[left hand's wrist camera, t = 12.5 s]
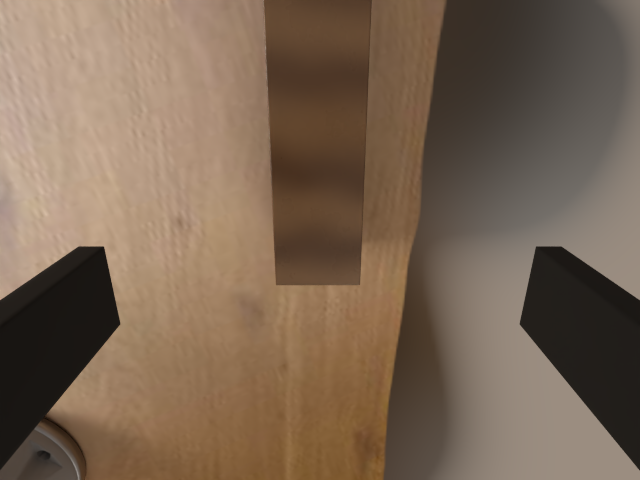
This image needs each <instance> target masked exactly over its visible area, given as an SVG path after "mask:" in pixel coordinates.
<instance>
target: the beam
mask: <svg viewBox="0 0 640 480" xmlns="http://www.w3.org/2000/svg"><path fill="white" fill-rule="evenodd" d="M263 8H264V30H265V52H266V74H267V96H268V119H269V141H270V163H271V185H272V207H273V229H274V252H275V274H276V285H360V270H361V245H362V221H363V196H364V171H365V146H366V121H367V97H368V72H369V47H370V22H371V0H263Z"/></svg>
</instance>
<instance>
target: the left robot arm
mask: <svg viewBox="0 0 640 480" xmlns="http://www.w3.org/2000/svg"><path fill="white" fill-rule="evenodd" d="M119 325H120V320H119V315H118V311H117V306H116V301H115V297H114V292H113V287H112V282H111V278H110V273H109V268H108V264H107V259H106V254H105V249H104V247H77V248H76V249H74V250H73V251H72V252H70V253H69V254H67V255H66V256H64V257H63V258H61V259H60V260H58V261H57V262H55V263H54V264H53V265H51V266H50V267H48V268H47V269H45V270H44V271H42V272H41V273H39V274H38V275H37V276H35V277H34V278H32V279H31V280H29V281H28V282H26V283H25V284H23V285H22V286H20V287H19V288H18V289H16V290H15V291H13V292H12V293H10V294H9V295H7V296H6V297H4V298H3V299H2V300H0V480H85V476H86V464H85V460H84V457H83V454H82V452H81V450H80V449H79V447H78V446H77V444H76V443H75V442H74V440H73V439H72V438H71V437H70V436H69V435H68V434H67V433H66V432H65V431H63V430H62V429H61V428H60V427H58V426H57V425H55V424H54V423H52V422H50V421H49V420H47V419H45V418H44V416H45V415H46V414H47V413H48V412H49V410H50V409H51V408H52V407H53V406H54V404H55V403H56V402H57V401H58V399H59V398H60V397H61V396H62V395H63V393H64V392H65V391H66V390H67V388H68V387H69V386H70V385H71V384H72V382H73V381H74V380H75V379H76V378H77V376H78V375H79V374H80V373H81V371H82V370H83V369H84V368H85V367H86V365H87V364H88V363H89V362H90V360H91V359H92V358H93V357H94V356H95V354H96V353H97V352H98V351H99V350H100V348H101V347H102V346H103V345H104V343H105V342H106V341H107V340H108V339H109V337H110V336H111V335H112V334H113V332H114V331H115V330H116V329H117V328H118V326H119ZM520 325H521V326H522V328H523V329H524V330H525V331H526V332H527V334H528V335H529V336H530V337H531V339H532V340H533V341H534V342H535V343H536V345H537V346H538V347H539V348H540V349H541V351H542V352H543V353H544V354H545V356H546V357H547V358H548V359H549V360H550V362H551V363H552V364H553V365H554V367H555V368H556V369H557V370H558V371H559V373H560V374H561V375H562V376H563V378H564V379H565V380H566V381H567V382H568V384H569V385H570V386H571V387H572V388H573V390H574V391H575V392H576V393H577V395H578V396H579V397H580V398H581V399H582V401H583V402H584V403H585V404H586V406H587V407H588V408H589V409H590V410H591V412H592V413H593V414H594V415H595V416H596V418H597V419H598V420H599V421H600V423H601V424H602V425H603V426H604V427H605V429H606V430H607V431H608V432H609V434H610V435H611V436H612V437H613V438H614V440H615V441H616V442H617V443H618V444H619V446H620V447H621V448H622V449H623V450H624V452H625V453H626V454H627V455H628V457H629V458H630V459H631V460H632V462H633V463H634V464H635V465H636V466H637V468H638V469H639V470H640V300H638V299H637V298H636V297H634V296H633V295H631V294H630V293H628V292H627V291H625V290H624V289H622V288H621V287H619V286H618V285H617V284H615V283H614V282H612V281H611V280H609V279H608V278H606V277H605V276H603V275H602V274H601V273H599V272H598V271H596V270H595V269H593V268H592V267H590V266H589V265H587V264H586V263H585V262H583V261H582V260H580V259H579V258H577V257H576V256H574V255H573V254H571V253H570V252H568V251H567V250H566V249H564V248H563V247H536V249H535V254H534V259H533V264H532V268H531V273H530V278H529V283H528V287H527V292H526V297H525V301H524V306H523V311H522V315H521V320H520Z"/></svg>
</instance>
